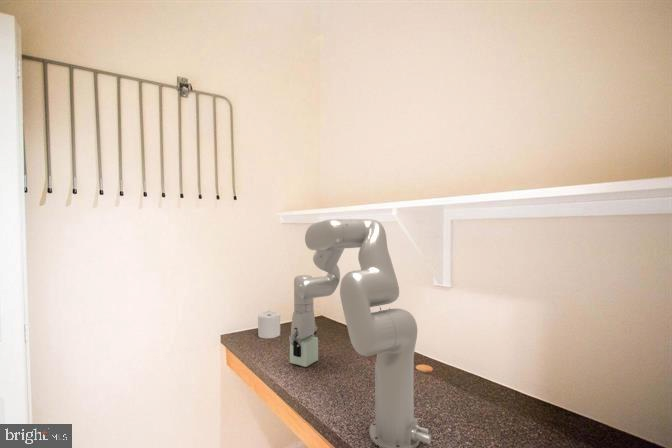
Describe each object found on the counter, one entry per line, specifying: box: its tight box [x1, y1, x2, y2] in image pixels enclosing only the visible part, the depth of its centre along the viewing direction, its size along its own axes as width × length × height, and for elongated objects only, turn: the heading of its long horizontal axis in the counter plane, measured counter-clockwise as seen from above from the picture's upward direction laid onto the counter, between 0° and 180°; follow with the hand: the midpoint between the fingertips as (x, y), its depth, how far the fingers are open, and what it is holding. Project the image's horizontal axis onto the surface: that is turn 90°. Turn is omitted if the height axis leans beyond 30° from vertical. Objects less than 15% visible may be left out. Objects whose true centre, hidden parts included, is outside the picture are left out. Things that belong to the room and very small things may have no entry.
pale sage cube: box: [289, 336, 319, 368], centre depth 127 cm, size 8×8×9 cm
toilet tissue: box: [257, 310, 281, 339], centre depth 160 cm, size 11×12×10 cm
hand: (304, 352), depth 127 cm, fingers closed on pale sage cube, 8 cm apart
